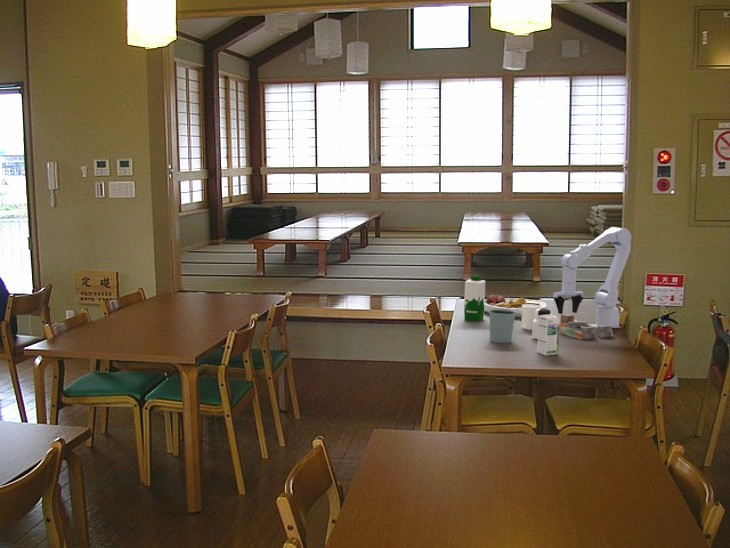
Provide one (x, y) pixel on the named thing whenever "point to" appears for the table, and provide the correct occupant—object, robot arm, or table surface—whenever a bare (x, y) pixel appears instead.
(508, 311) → the drinking glass
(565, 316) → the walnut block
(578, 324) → the gauge plate
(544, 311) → the medicine bottle
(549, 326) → the syrup box
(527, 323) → the white cup
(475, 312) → the milk carton
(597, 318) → the robot arm
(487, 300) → the bowl
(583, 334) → the gauge bed
